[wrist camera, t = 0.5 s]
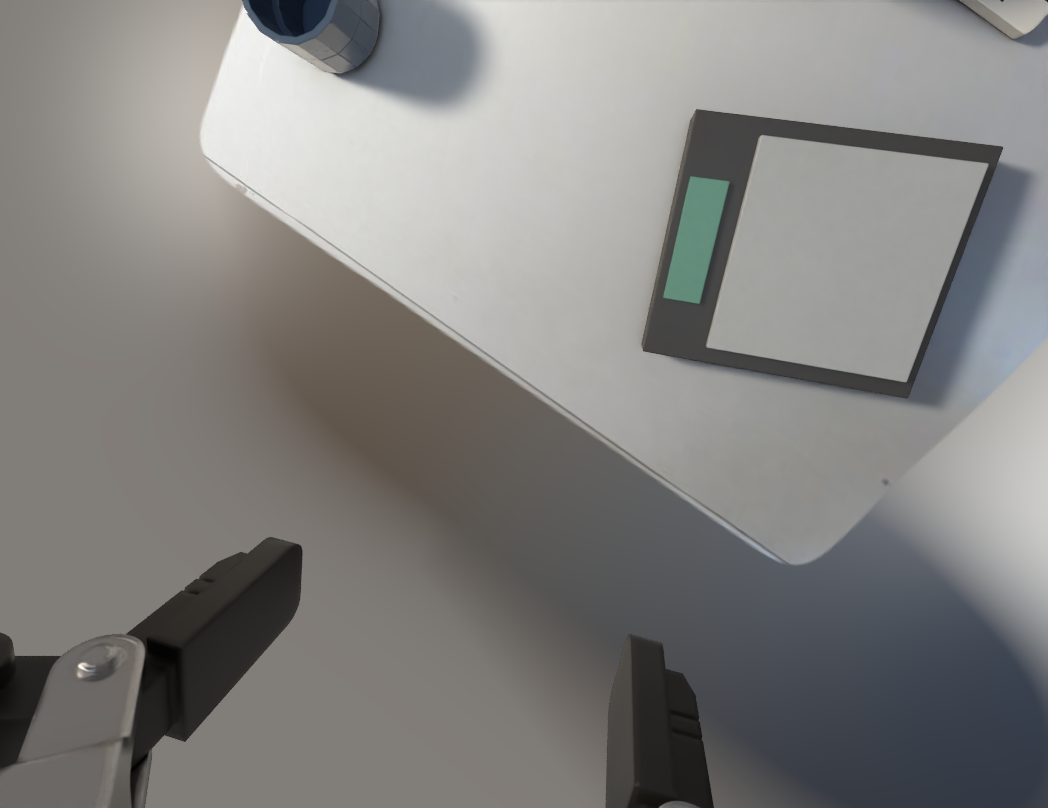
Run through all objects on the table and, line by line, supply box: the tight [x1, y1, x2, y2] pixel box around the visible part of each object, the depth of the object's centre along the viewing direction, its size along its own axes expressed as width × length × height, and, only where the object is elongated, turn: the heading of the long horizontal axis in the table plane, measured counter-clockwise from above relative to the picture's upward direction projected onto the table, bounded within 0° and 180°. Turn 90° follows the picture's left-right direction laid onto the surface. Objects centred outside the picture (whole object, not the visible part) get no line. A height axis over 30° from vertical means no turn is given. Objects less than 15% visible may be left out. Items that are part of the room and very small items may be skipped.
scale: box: [642, 109, 1003, 398], centre depth 32 cm, size 14×16×3 cm
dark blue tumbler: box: [242, 0, 379, 74], centre depth 31 cm, size 6×6×6 cm
